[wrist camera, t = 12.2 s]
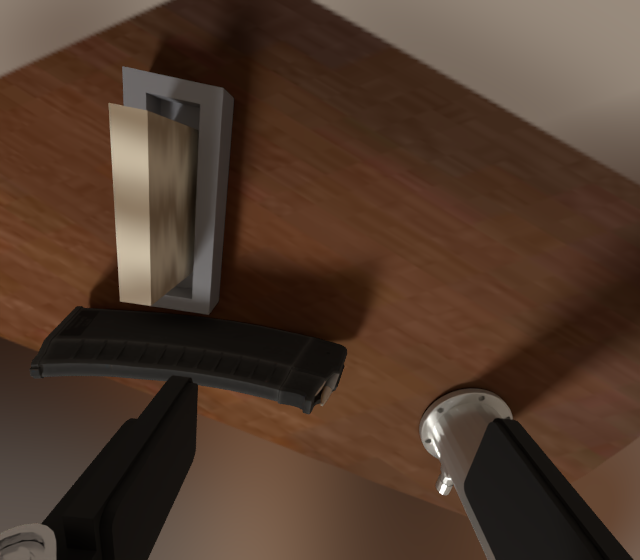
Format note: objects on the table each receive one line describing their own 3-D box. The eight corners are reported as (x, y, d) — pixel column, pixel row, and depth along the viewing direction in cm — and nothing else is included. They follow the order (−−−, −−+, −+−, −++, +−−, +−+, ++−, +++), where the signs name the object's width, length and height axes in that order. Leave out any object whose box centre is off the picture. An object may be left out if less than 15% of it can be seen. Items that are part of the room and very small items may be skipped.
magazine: (-12, 370, 27) (301, 496, 20) (-20, 338, 25) (307, 462, 19) (143, 302, 42) (346, 362, 36) (142, 281, 41) (351, 340, 35)
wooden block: (193, 271, 32) (151, 305, 24) (169, 267, 32) (117, 301, 23) (198, 130, 27) (147, 110, 19) (169, 124, 27) (105, 102, 19)
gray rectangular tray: (218, 301, 34) (208, 315, 31) (148, 290, 34) (129, 303, 30) (234, 98, 27) (223, 87, 24) (145, 79, 27) (121, 65, 23)
